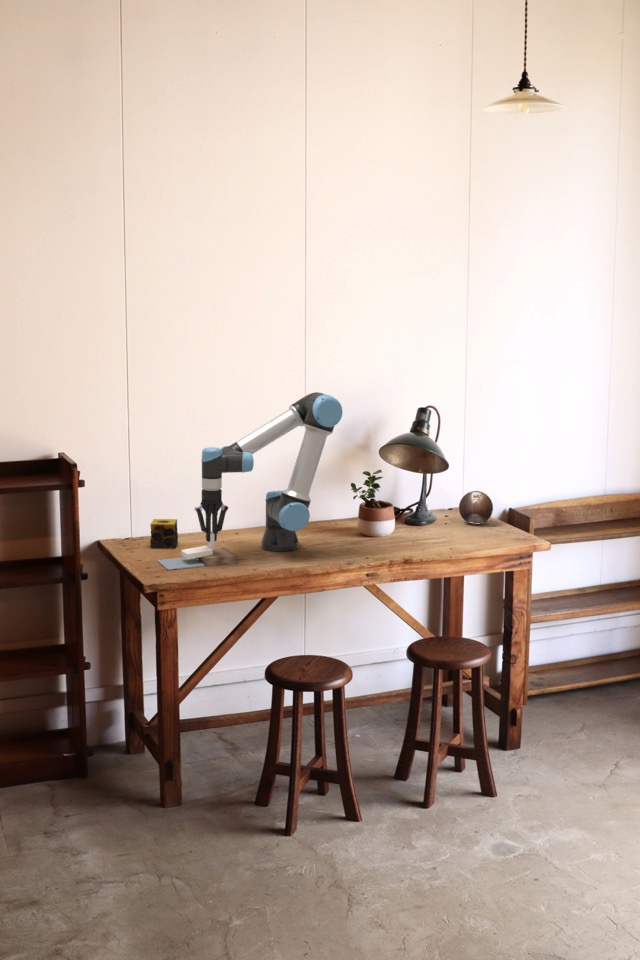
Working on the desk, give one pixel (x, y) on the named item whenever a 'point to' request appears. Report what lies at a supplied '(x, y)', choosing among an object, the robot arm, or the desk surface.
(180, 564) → the mat
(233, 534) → the desk surface
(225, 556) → the deck
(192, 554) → the tile
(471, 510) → the bronze metallic ball
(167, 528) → the candle
